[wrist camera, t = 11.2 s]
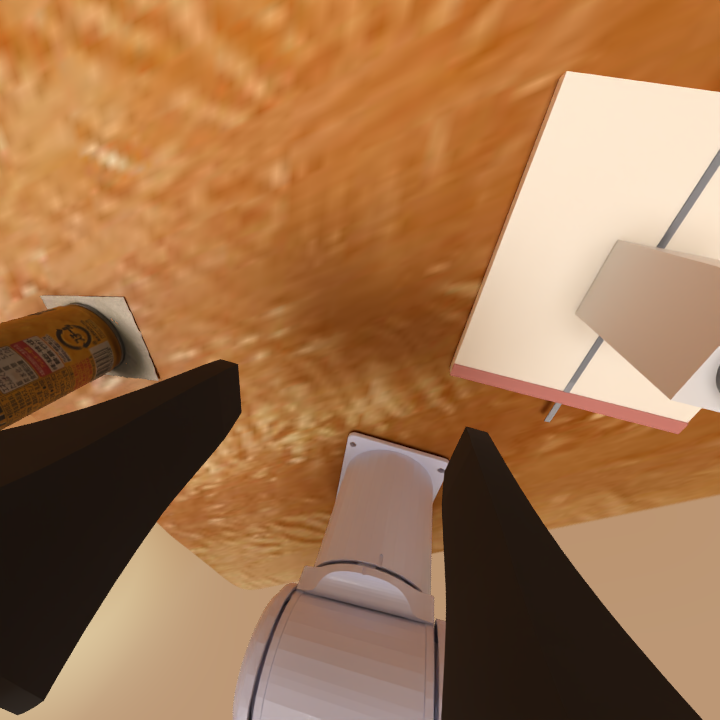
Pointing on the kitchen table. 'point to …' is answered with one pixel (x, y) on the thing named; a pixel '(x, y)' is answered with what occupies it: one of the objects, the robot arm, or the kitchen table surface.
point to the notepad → (593, 240)
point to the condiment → (66, 352)
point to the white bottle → (661, 318)
